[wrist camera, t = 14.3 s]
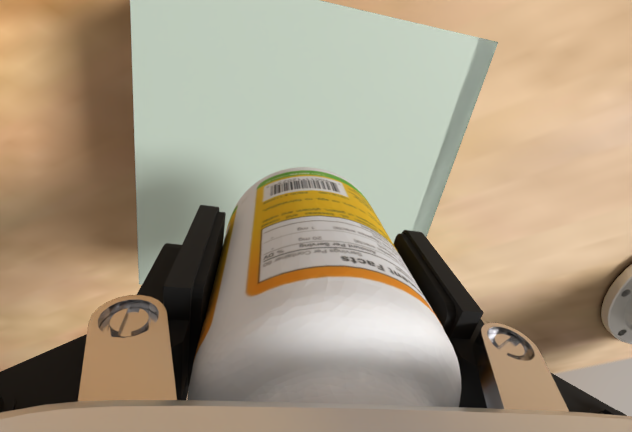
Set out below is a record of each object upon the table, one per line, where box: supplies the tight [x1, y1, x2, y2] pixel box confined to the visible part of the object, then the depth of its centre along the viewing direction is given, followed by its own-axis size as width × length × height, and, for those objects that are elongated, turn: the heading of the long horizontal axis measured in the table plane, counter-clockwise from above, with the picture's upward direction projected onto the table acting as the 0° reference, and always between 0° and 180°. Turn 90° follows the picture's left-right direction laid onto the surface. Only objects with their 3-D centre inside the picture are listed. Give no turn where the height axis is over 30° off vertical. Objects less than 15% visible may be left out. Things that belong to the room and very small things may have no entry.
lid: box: [130, 0, 498, 285], centre depth 20 cm, size 16×16×4 cm
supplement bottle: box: [188, 167, 461, 407], centre depth 9 cm, size 5×5×10 cm
